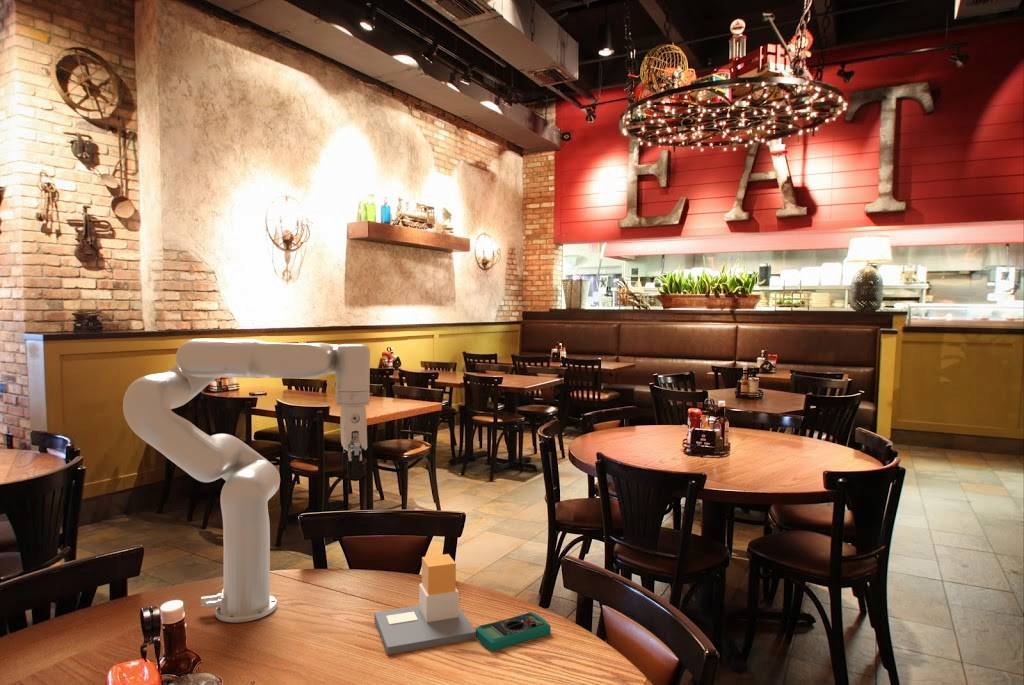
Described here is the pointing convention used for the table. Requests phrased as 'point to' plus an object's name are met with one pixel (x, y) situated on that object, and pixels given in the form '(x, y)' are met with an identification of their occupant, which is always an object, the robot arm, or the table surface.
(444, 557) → the orange foam cube
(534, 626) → the digital multimeter
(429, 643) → the board
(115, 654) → the table surface
